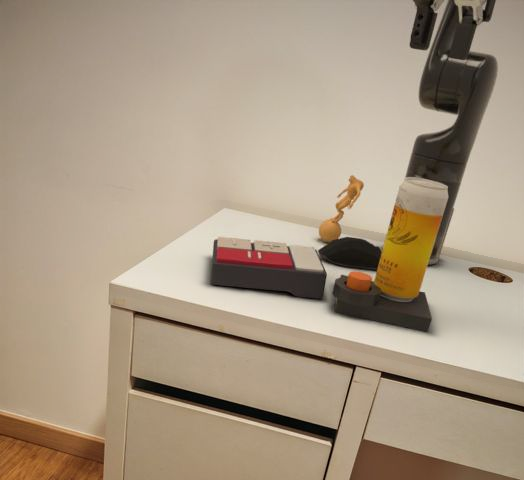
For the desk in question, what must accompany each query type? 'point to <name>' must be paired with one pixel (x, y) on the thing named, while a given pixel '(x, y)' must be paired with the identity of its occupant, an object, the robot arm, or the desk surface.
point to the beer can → (410, 238)
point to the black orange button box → (381, 306)
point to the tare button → (359, 281)
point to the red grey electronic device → (268, 266)
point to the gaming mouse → (352, 253)
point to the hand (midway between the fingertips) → (438, 54)
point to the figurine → (340, 211)
